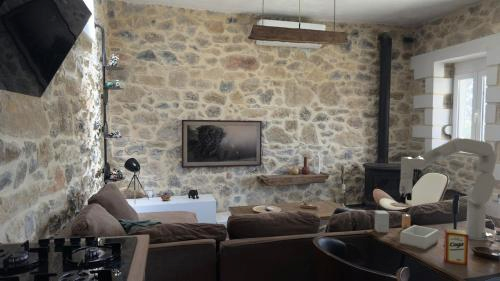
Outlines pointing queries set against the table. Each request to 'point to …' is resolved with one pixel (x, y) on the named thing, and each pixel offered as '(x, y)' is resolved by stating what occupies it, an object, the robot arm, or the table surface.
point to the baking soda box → (456, 246)
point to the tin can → (405, 221)
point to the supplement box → (381, 221)
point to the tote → (419, 237)
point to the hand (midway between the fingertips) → (405, 201)
